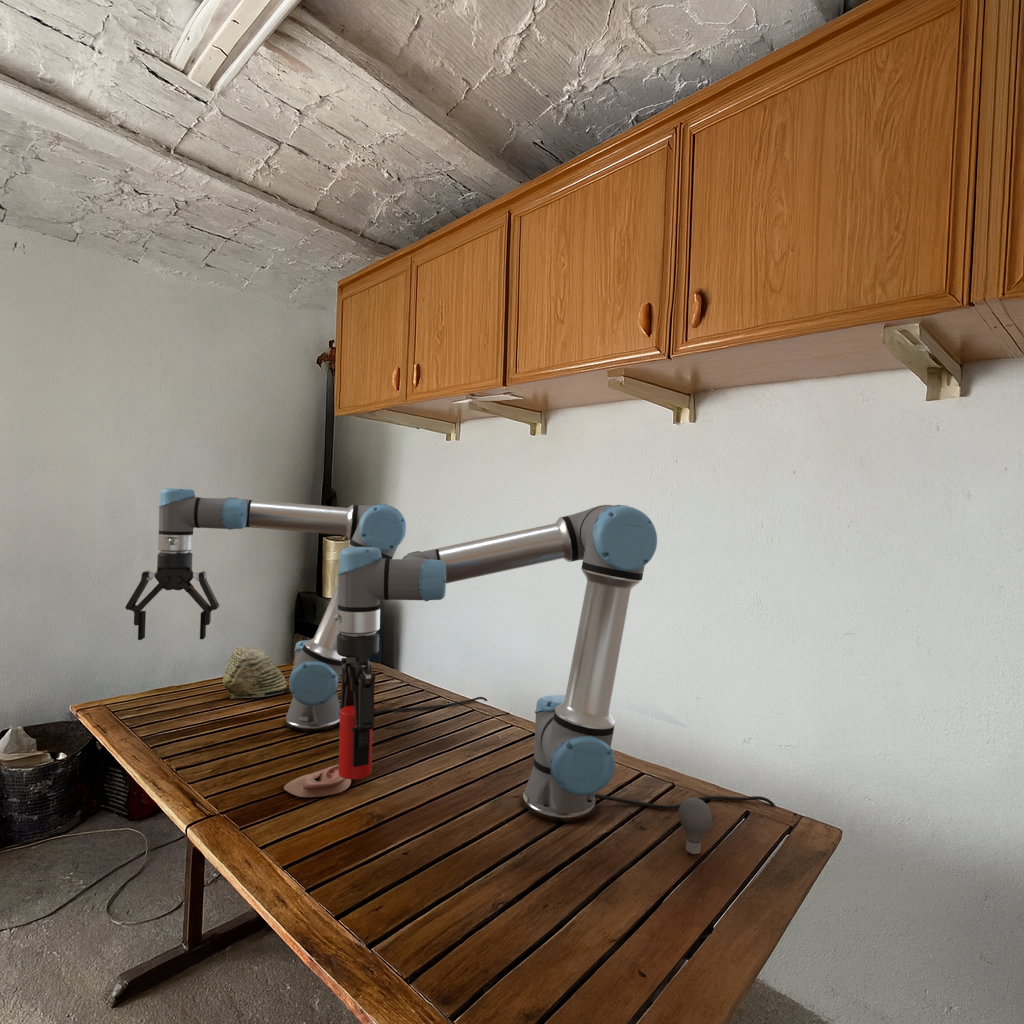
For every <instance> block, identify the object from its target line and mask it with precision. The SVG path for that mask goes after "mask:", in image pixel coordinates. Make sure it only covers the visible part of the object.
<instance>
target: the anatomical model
mask: <svg viewBox="0 0 1024 1024" xmlns="http://www.w3.org/2000/svg"><path fill="white" fill-rule="evenodd" d="M351 784H352V779H345V778H342V777H341V776H339V763H337V764H335V765H332V766H329V767H326V768H323V769H320V770H318V771H315V772H312V773H308V774H305V775H301V776H299V777H296V778H294V779H293V780H290V781H289V782H287V783H286V784H285V785H284V786H283V790H284V791H285V792H287V793H289V794H290V795H293V796H295V797H299V798H320V797H327V796H332V795H335V794H340V793H342V792H344V791H346V790H347V789H349V787H350V786H351Z"/></svg>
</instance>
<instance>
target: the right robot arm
mask: <svg viewBox="0 0 1024 1024" xmlns="http://www.w3.org/2000/svg"><path fill="white" fill-rule="evenodd" d="M657 547H658V533H657V530H656V526H655V524H654V523H653V521H652V520H651V519H650V517H649V516H648V515H647V514H646V513H645V512H643V511H642V510H640V509H638V508H635V507H633V506H629V505H627V504H625V505H624V504H603V505H597V506H594V507H591V508H588V509H585V510H582V511H579V512H576V513H573V514H568V515H565V516H560V517H558V518H557V520H556V522H554V523H551V524H546V525H541V526H536V527H531V528H527V529H522V530H518V531H513V532H512V531H511V532H508V533H503V534H499V535H494V536H488V537H485V538H484V537H483V538H479V539H475V540H470V541H466V542H461V543H456V544H451V545H447V546H442V547H438V548H433V549H428V550H424V551H421V550H416V551H412V552H408V553H407V554H406V555H404V556H403V557H402V558H392V559H386V558H382V555H381V550H380V549H379V548H374V547H350V546H349V547H345V548H343V549H342V550H340V552H339V559H338V571H337V585H338V615H336V616H335V620H336V621H338V628H337V630H338V631H339V632H340V633H339V634H338V635H337V653H338V655H340V656H343V657H346V658H342V659H341V664H342V673H341V679H340V680H341V681H340V708H343V707H345V706H349V705H354V712H355V728H351V730H352V732H353V767H357V766H362V765H367V764H369V729H372V730H374V728H375V714H374V712H375V682H376V673H375V672H372V664H370V660H369V659H370V657H372V656H376V655H377V654H378V653H379V652H380V633H379V632H378V631H379V630H380V629H381V604H380V603H381V601H391V600H392V601H424V602H429V601H440V600H443V599H444V598H445V597H446V594H447V593H446V591H447V584H451V583H456V582H459V581H465V580H469V579H474V578H475V579H476V578H480V577H484V576H488V575H492V574H498V573H503V572H507V571H511V570H512V571H513V570H516V569H520V568H521V569H522V568H525V567H531V566H536V565H540V564H544V563H548V562H554V561H558V560H565V561H566V562H567V563H572V562H576V561H582V564H581V572H582V574H583V576H585V579H586V585H585V591H584V596H583V601H582V607H581V611H580V616H579V623H578V628H577V633H576V637H575V644H574V649H573V653H572V654H573V655H572V659H571V666H570V669H569V675H568V680H567V686H566V691H565V692H566V693H565V694H550V695H544V696H541V697H539V698H538V699H537V702H536V706H535V710H534V714H535V722H534V723H535V724H534V728H535V729H534V744H533V745H534V749H533V750H534V751H533V767H532V770H531V772H530V774H529V778H528V780H527V783H526V786H525V789H524V791H523V793H522V798H523V799H522V800H523V806H524V809H525V810H526V811H527V812H528V813H530V814H531V815H532V816H533V817H534V816H535V817H536V818H538V819H542V820H544V821H548V822H553V823H560V824H561V823H562V824H563V823H564V824H569V823H577V822H581V821H584V820H586V819H589V818H590V817H592V815H594V813H595V811H596V801H597V800H596V799H601V800H607V801H612V802H618V803H623V804H627V805H635V806H640V807H646V808H652V809H661V810H674V809H675V810H676V809H677V810H678V809H679V807H680V805H681V804H682V803H679V804H656V803H649V802H643V801H637V800H630V799H626V798H625V799H624V798H620V797H615V796H609V795H603V794H596V793H598V792H599V791H601V790H602V789H604V788H605V787H607V786H608V784H609V783H610V782H611V781H612V779H613V776H614V774H615V771H616V758H615V753H614V751H613V749H612V742H613V737H614V731H615V726H616V721H615V719H614V718H613V716H612V715H611V713H610V710H611V709H610V708H611V702H612V699H613V698H612V697H613V692H614V687H615V682H616V675H617V671H618V666H619V665H618V664H619V660H620V654H621V650H622V644H623V638H624V633H625V629H626V623H627V617H628V613H629V607H630V601H631V596H632V591H633V589H634V588H635V587H636V586H637V585H639V584H641V583H642V582H643V576H644V571H645V567H646V565H647V564H648V563H650V562H651V560H652V559H653V557H654V556H655V553H656V551H657ZM746 797H748V798H746ZM697 798H698V799H700V800H702V801H710V800H711V801H713V800H715V801H717V800H718V801H719V800H720V801H736V802H737V801H738V802H745V801H764V802H766V803H768V804H769V805H770V806H772V807H776V804H775V803H774V802H773V800H771V799H769V798H767V797H764V796H760V795H759V796H758V795H752V796H724V795H708V796H698V797H697Z"/></svg>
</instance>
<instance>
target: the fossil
mask: <svg viewBox="0 0 1024 1024" xmlns="http://www.w3.org/2000/svg"><path fill="white" fill-rule="evenodd" d="M222 676H223V677H222V685H223V687H224V688H225V690H226V691H228V693H229V698H230V699H250V698H264V697H271V696H275V695H281V694H284V693H285V691H286V689H287V687H288V686H287V680H286V678H285V676H284V674H283V673H282V672H281V669H279V668H278V667H277V665H276V663H275V662H274V660H273V659H272V658H271V657H270V656H269V655H268V654H267V653H266V652H265V650H264V649H263V648H260V647H258V648H251V647H247V646H246V647H245V646H238V647H237V648H236V649H235V650H233V651H232V653H231V656H230V657H229V659H228V660H227V663H226V666H225V668H224V671H223V675H222Z"/></svg>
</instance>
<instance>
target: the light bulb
mask: <svg viewBox="0 0 1024 1024" xmlns="http://www.w3.org/2000/svg"><path fill="white" fill-rule="evenodd" d="M680 804H681V805H680V807H679V808H678V814H677V815H678V820H679V822H680V824H681V827H682V829H683V832H684V837H685V841H686V842H685V843H686V845H685V850H686V851H687V852H688V853H690V854H691V855H698V854H700V853H701V850H702V849H701V848H702V847H701V845H702V842H703V840H704V837H705V834H706V832H707V831H708V830H709V828H710V826H711V824H712V822H713V821H712V820H713V815H712V810H711V809H710V807H709V805H708V804H707V803H706V802H705V800H700V799H698V797H689V798H687V799H685V800H684V801H683V802H682V803H680Z"/></svg>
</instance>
